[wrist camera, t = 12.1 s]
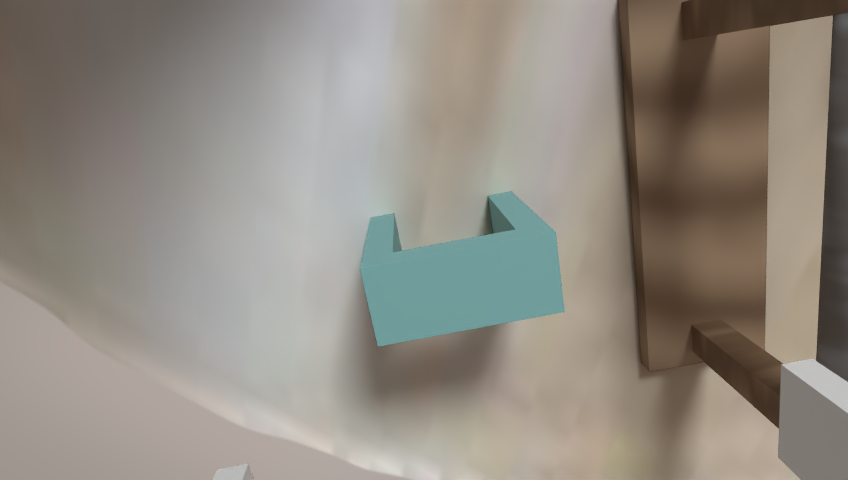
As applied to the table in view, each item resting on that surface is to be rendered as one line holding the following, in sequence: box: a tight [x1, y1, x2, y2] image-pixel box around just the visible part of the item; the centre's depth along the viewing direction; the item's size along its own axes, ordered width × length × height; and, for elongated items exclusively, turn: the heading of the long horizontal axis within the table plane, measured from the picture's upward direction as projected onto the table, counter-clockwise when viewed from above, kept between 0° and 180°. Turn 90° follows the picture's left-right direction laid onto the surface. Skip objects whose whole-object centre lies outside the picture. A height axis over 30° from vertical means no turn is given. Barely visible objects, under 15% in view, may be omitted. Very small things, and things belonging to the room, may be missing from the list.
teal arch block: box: [360, 192, 565, 347], centre depth 28 cm, size 4×9×10 cm, turn 100°
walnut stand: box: [618, 0, 848, 428], centre depth 26 cm, size 24×8×13 cm, turn 10°
